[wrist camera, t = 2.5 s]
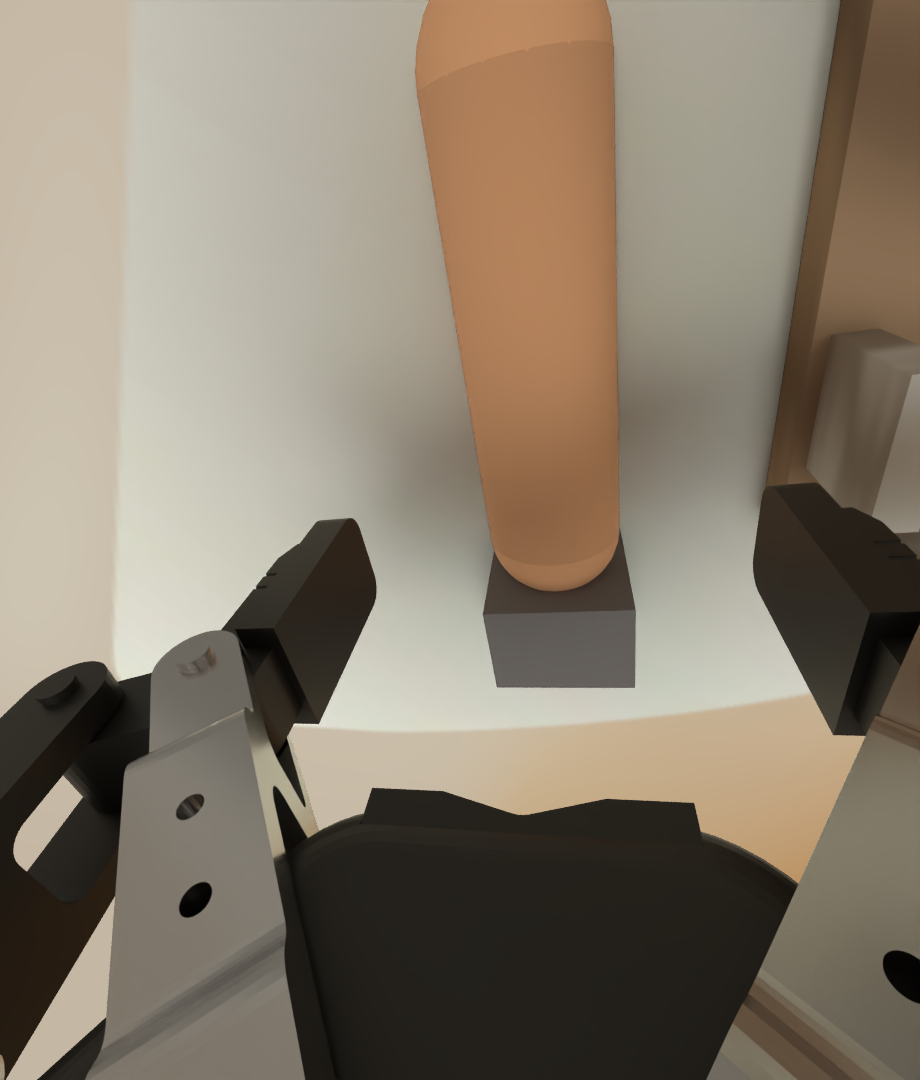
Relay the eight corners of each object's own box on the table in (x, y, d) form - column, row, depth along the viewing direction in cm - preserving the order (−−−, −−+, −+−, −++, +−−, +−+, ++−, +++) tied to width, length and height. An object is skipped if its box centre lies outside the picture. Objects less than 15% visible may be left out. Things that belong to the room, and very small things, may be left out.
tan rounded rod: (412, 3, 12) (347, -83, 8) (613, -59, 11) (642, -188, 7) (507, 602, 21) (497, 687, 17) (620, 598, 20) (634, 687, 16)
